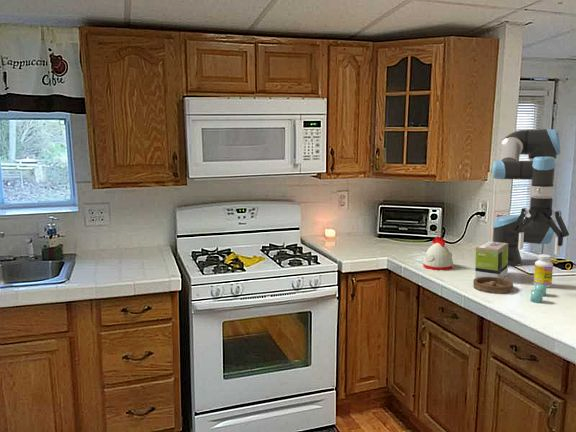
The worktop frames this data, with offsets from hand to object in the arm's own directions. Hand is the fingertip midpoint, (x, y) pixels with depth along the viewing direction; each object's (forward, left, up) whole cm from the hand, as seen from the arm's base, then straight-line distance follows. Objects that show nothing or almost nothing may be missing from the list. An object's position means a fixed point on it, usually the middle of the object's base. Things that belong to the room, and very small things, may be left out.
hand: (538, 251), depth 190 cm
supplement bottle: (-14, -3, -18) cm, 23 cm away
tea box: (-12, -24, -18) cm, 32 cm away
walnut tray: (+3, -16, -18) cm, 24 cm away
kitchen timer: (-11, -50, -18) cm, 54 cm away
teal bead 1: (-1, +1, -18) cm, 18 cm away
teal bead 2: (+8, +3, -18) cm, 20 cm away
